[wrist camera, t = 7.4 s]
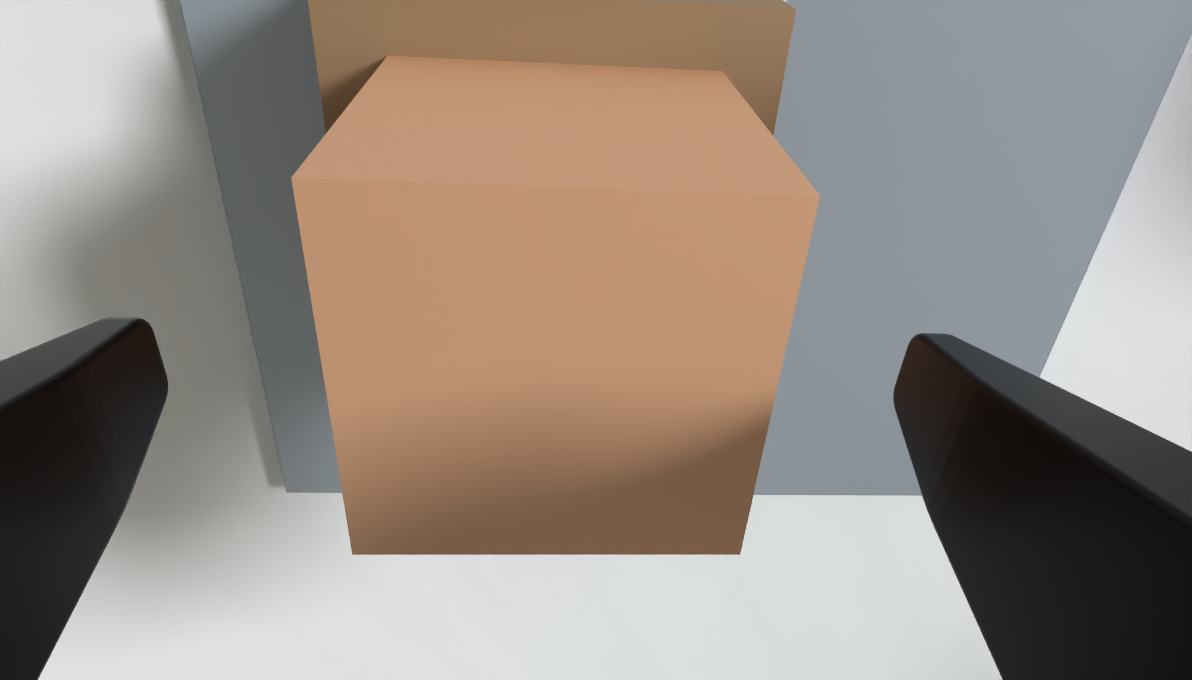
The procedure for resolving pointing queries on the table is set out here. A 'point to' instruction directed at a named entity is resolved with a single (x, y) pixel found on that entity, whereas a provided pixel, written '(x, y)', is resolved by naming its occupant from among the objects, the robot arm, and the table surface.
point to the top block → (550, 305)
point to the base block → (556, 39)
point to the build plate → (832, 166)
